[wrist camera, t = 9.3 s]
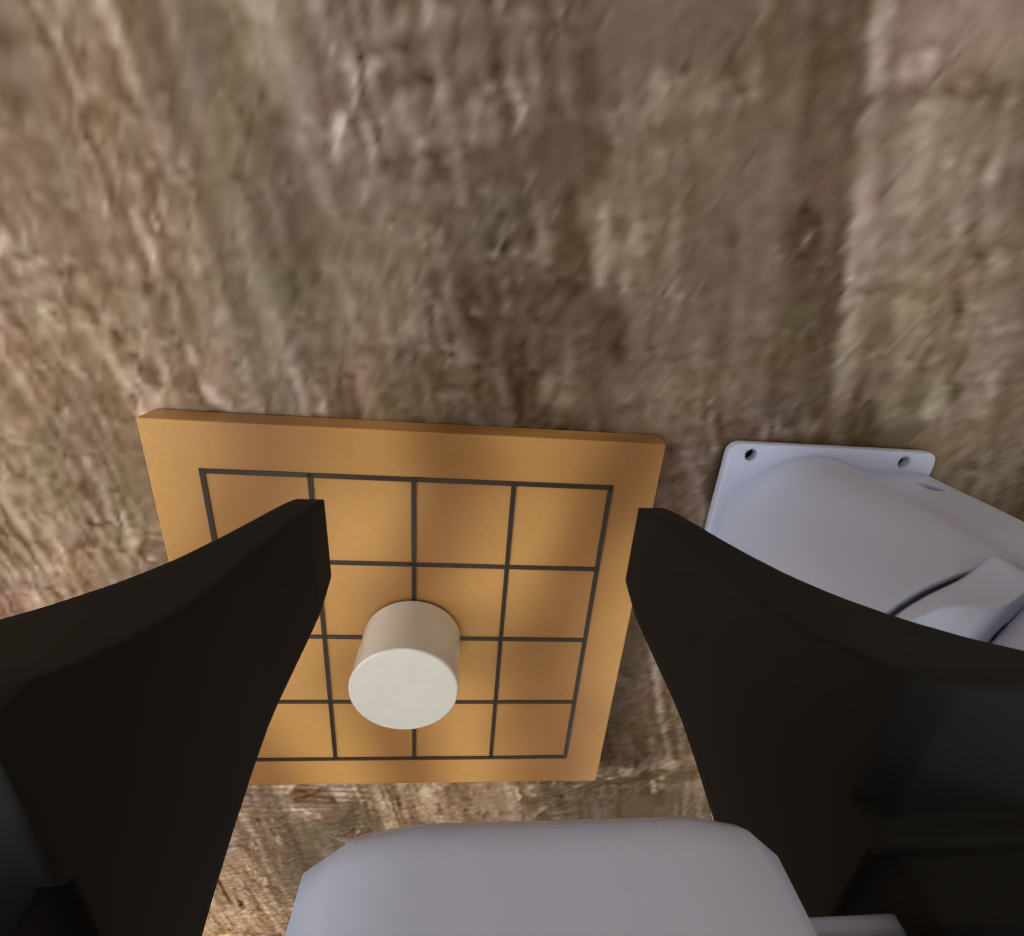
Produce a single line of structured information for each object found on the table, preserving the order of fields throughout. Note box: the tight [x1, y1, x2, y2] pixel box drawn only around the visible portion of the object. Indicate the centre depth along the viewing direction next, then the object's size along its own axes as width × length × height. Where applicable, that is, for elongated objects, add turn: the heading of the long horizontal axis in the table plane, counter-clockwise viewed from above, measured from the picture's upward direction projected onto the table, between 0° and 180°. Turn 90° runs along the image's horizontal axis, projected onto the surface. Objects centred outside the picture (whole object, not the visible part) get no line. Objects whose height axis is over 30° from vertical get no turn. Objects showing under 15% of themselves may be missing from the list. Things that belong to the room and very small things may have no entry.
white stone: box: [348, 601, 461, 730], centre depth 21 cm, size 4×4×3 cm
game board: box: [136, 409, 666, 785], centre depth 23 cm, size 20×20×1 cm
